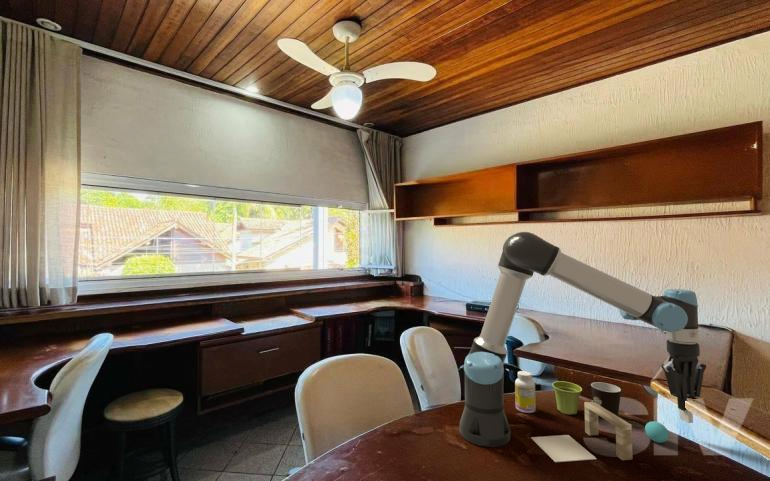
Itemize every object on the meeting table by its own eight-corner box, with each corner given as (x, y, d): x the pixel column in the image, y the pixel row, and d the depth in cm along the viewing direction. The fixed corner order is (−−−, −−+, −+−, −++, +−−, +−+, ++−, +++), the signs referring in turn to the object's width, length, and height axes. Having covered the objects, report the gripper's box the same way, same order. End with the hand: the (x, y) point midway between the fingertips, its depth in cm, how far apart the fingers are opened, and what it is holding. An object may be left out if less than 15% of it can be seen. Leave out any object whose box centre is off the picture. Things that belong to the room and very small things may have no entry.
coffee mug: (626, 424, 111) (626, 393, 111) (597, 421, 113) (596, 391, 113) (610, 408, 122) (610, 380, 123) (584, 406, 124) (583, 378, 124)
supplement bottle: (517, 403, 126) (516, 368, 127) (536, 407, 123) (535, 371, 123) (513, 411, 121) (513, 374, 121) (534, 415, 117) (533, 377, 118)
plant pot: (583, 409, 122) (582, 384, 122) (582, 420, 114) (581, 393, 114) (554, 403, 127) (553, 379, 127) (551, 413, 119) (550, 388, 119)
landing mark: (555, 462, 91) (555, 461, 91) (531, 438, 103) (531, 437, 103) (596, 459, 92) (596, 458, 92) (568, 435, 104) (568, 434, 104)
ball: (656, 447, 98) (656, 427, 98) (640, 436, 103) (640, 418, 104) (674, 445, 99) (673, 426, 99) (657, 435, 104) (656, 417, 104)
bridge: (622, 460, 92) (621, 425, 92) (585, 432, 106) (584, 402, 107) (632, 459, 92) (631, 424, 92) (594, 431, 107) (593, 401, 107)
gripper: (674, 345, 99) (678, 428, 98) (714, 343, 100) (719, 425, 99) (651, 338, 106) (655, 416, 105) (689, 337, 107) (693, 413, 107)
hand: (686, 420), depth 102 cm, fingers closed
